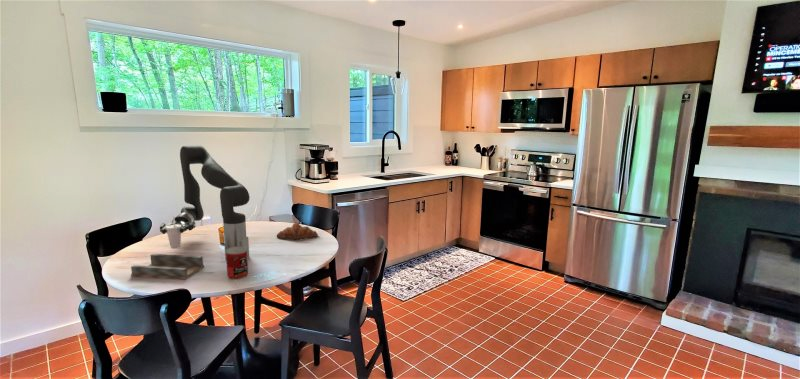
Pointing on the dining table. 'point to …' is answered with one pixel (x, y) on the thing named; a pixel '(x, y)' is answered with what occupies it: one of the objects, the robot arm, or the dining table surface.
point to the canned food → (237, 262)
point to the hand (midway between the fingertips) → (172, 231)
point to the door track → (169, 267)
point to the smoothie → (174, 234)
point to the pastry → (296, 233)
